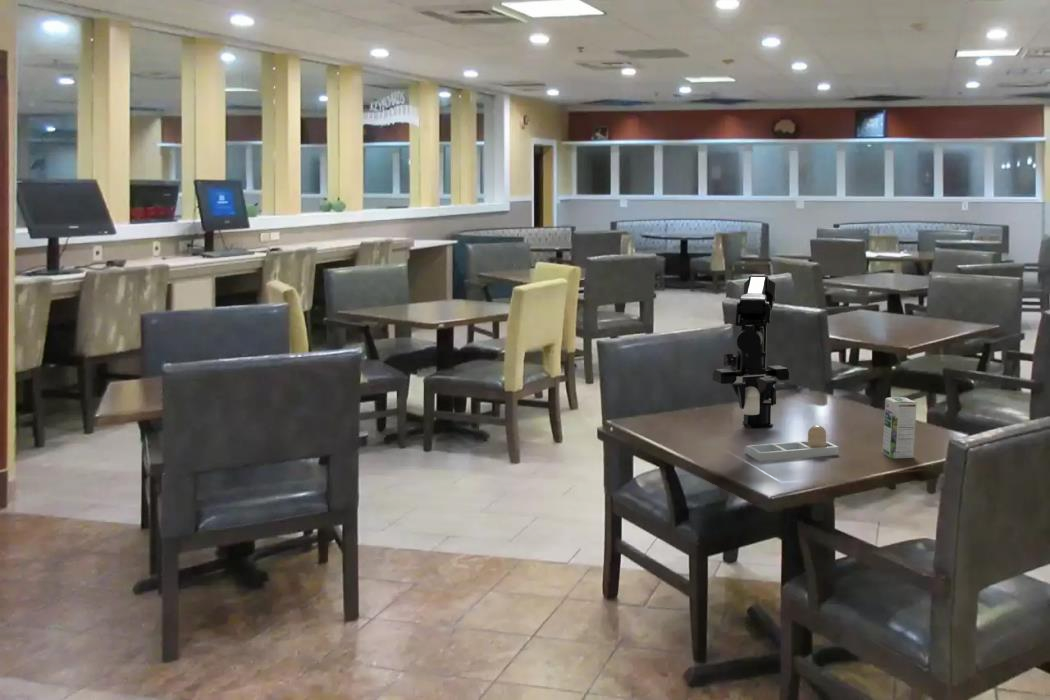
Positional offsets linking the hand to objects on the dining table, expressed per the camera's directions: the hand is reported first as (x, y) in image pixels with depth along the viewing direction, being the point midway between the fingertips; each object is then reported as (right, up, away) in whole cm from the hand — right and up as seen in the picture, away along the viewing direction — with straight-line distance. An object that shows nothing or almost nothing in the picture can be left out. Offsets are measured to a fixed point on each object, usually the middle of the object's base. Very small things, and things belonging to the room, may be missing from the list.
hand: (750, 408), depth 262 cm
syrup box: (+35, -12, -6) cm, 37 cm away
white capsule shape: (0, -1, 0) cm, 1 cm away
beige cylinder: (+16, -11, -3) cm, 19 cm away
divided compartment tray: (+9, -12, -4) cm, 15 cm away
